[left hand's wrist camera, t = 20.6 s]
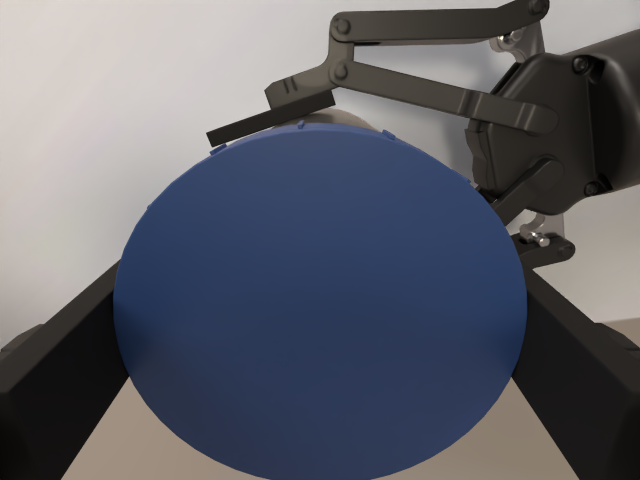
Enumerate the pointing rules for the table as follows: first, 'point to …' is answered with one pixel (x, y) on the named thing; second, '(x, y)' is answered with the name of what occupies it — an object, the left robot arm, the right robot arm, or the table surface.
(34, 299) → the table surface
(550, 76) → the right robot arm
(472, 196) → the lid
